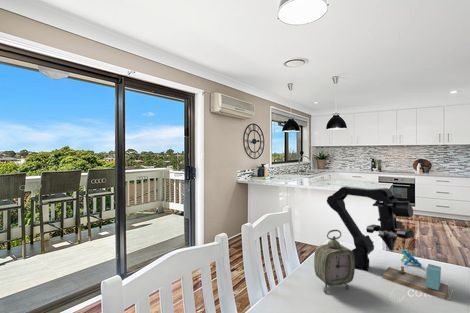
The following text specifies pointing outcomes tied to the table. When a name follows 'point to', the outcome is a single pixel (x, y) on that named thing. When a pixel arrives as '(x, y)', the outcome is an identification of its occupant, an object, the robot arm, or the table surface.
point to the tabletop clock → (334, 263)
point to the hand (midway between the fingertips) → (391, 250)
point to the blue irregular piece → (409, 258)
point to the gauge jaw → (433, 276)
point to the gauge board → (414, 282)
